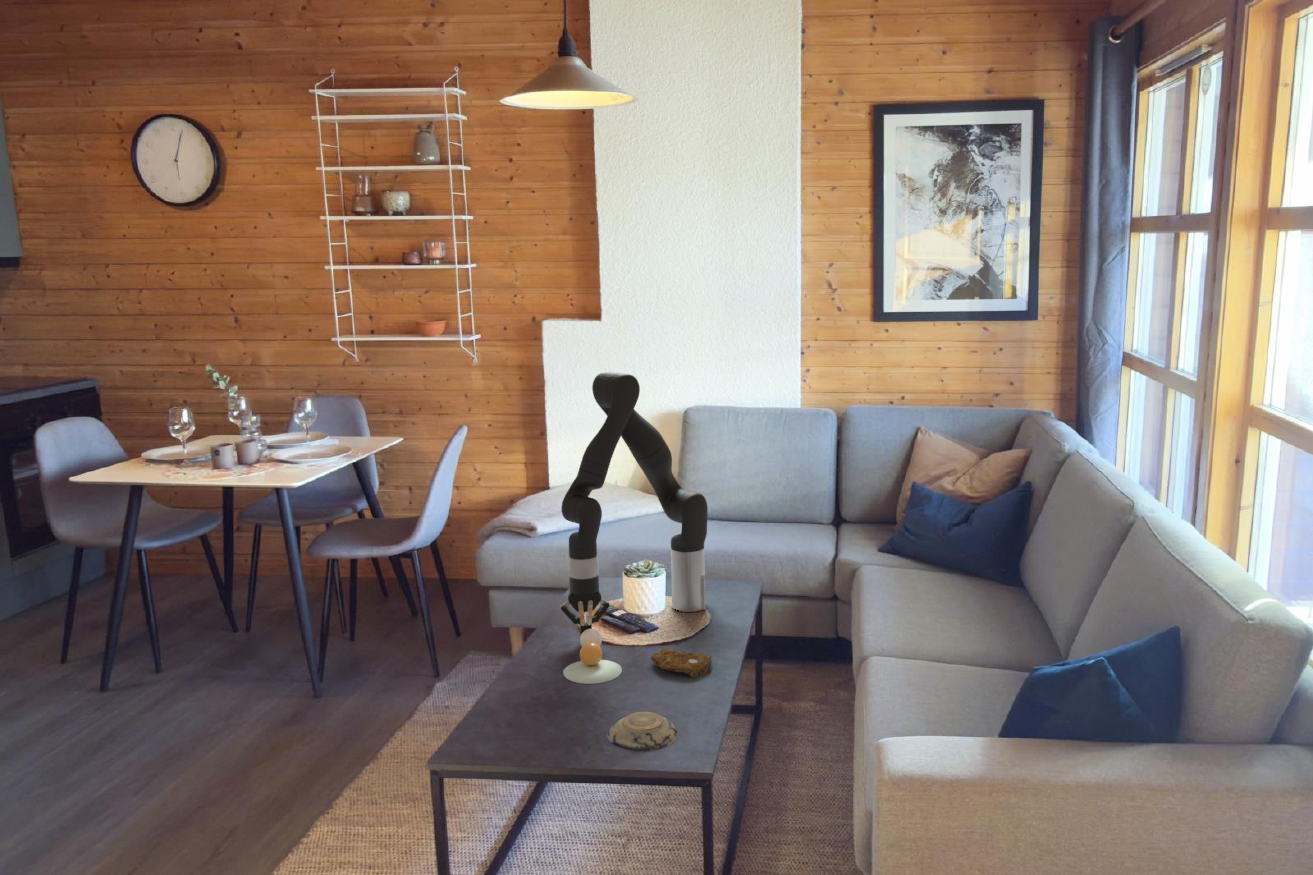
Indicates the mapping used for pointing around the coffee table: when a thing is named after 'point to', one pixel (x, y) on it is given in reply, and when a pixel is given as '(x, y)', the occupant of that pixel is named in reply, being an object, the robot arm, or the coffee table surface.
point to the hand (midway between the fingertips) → (586, 637)
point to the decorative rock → (683, 662)
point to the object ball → (590, 654)
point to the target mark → (592, 672)
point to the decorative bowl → (643, 732)
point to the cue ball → (590, 637)
